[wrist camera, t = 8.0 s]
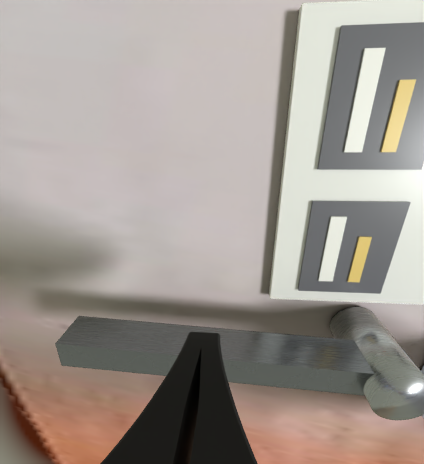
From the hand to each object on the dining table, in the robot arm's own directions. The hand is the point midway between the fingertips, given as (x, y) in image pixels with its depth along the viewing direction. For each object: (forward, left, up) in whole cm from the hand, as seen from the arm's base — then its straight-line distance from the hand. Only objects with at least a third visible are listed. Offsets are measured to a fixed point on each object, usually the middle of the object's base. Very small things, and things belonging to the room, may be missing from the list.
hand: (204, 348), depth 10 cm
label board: (+6, -11, -8) cm, 15 cm away
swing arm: (-5, -2, -8) cm, 9 cm away
